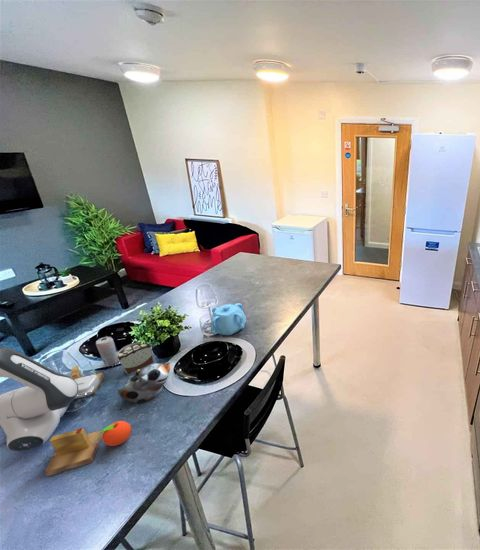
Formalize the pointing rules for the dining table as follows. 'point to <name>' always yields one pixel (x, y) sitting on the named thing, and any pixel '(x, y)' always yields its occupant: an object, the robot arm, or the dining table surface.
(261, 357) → the dining table surface
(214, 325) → the decorative pot
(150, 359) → the food container
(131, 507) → the dining table surface
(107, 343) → the pillar candle
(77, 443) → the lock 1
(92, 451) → the wooden board
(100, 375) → the plate
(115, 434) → the clementine
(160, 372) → the lucky cat figurine
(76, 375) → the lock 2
